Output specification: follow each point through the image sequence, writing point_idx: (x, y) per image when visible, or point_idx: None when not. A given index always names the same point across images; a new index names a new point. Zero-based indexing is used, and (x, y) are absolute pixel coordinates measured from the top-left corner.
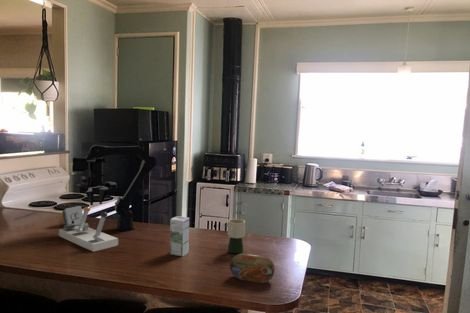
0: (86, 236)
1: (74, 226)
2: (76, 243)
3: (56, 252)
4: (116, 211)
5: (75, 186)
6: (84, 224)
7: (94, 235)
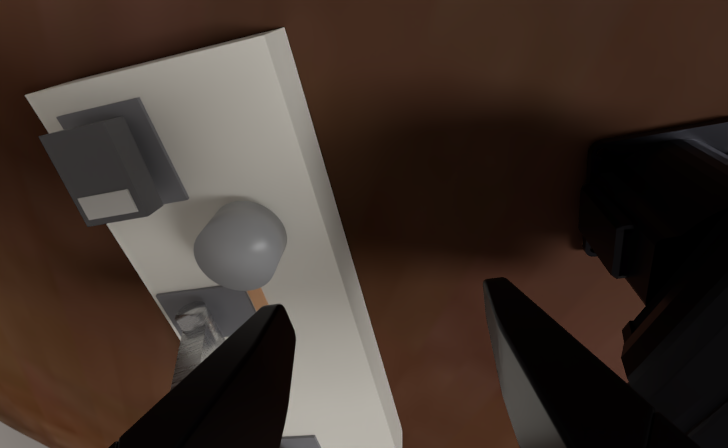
0: None
1: (155, 210)
2: None
3: (117, 373)
4: (628, 367)
5: None
6: (237, 273)
7: None
